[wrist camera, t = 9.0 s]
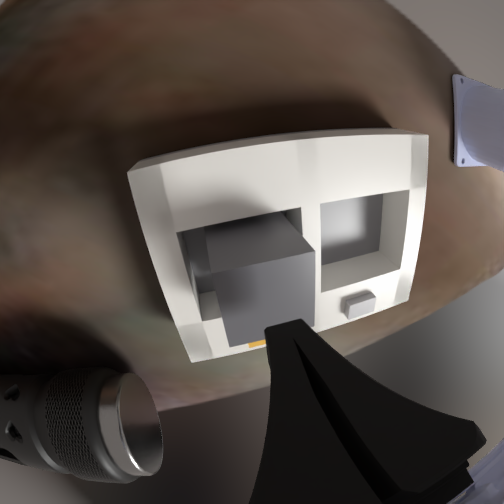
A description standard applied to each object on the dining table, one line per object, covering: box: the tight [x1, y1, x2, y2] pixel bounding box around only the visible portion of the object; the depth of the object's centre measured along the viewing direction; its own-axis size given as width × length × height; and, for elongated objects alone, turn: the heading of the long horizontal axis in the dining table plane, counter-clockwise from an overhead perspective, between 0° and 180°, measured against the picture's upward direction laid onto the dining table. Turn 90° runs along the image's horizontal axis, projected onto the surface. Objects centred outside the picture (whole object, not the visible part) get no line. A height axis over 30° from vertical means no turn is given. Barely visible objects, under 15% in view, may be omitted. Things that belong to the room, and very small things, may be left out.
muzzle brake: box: [0, 366, 163, 483], centre depth 15 cm, size 10×28×10 cm, turn 97°
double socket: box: [127, 128, 428, 363], centre depth 16 cm, size 16×12×4 cm
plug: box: [204, 211, 315, 347], centre depth 14 cm, size 4×4×6 cm
